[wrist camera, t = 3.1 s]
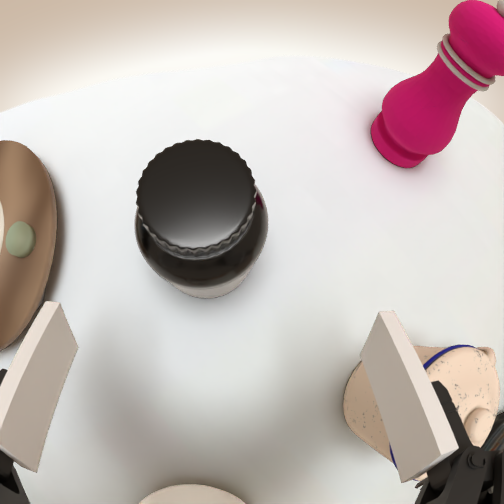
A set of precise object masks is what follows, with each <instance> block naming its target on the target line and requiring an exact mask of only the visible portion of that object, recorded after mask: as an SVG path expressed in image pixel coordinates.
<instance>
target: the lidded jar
mask: <svg viewBox="0 0 504 504" xmlns="http://www.w3.org/2000/svg"><path fill="white" fill-rule="evenodd" d="M138 504H246V503H245V502H243V501H242V500H241V499H239V498H238V497H236V496H234V495H233V494H231V493H228V492H226V491H224V490H221V489H218V488H214V487H211V486H205V485H197V484H181V485H173V486H169V487H165V488H163V489H160V490H158V491H155V492H153V493H152V494H150V495H148V496H147V497H145V498H144V499H143V500H142V501H141V502H139V503H138Z"/></svg>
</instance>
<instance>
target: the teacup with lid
mask: <svg viewBox="0 0 504 504" xmlns="http://www.w3.org/2000/svg"><path fill="white" fill-rule="evenodd" d="M413 347H414V349H415V351H416V353H417V355H418V357H419V359H420V361H421V363H422V365H423V367H424V369H425V371H426V373H427V375H428V378H429V380H430V382H433V381H438V380H439V381H440V382H441V383H442V384H443V385H444V386H445V388H446V389H447V390H448V392H449V394H450V396H451V398H452V402H453V403H454V405H455V407H456V411H458V414H459V416H460V418H461V420H462V423H463V425H464V427H465V430H466V432H467V434H468V437H469V439H470V441H471V443H472V444H473V445H474V446H479V447H480V448H481V446H482V445H483V443H484V442H485V440H486V438H487V437H488V435H489V433H490V431H491V429H492V426H493V424H494V421H495V418H496V414H497V410H498V405H499V397H500V386H499V379H498V374H497V371H496V368H495V364H496V357H495V353H494V351H493V349H491V348H489V347H477V348H475V347H473V346H470V345H455V346H451V347H448V348H440V347H423V346H413ZM343 409H344V415H345V419H346V422H347V424H348V426H349V427H350V429H351V430H352V431H353V433H354V434H356V435H357V436H358V437H359V438H361V439H362V440H363V441H364V442H366V443H367V444H368V445H370V446H371V447H372V448H374V449H375V450H376V451H378V452H379V453H380V454H382V455H383V456H384V457H386V458H387V459H388V460H390V461H391V462H392V463H394V465H395V467H396V468H397V465H396V462H395V459H394V455H393V452H392V449H391V445H390V442H389V439H388V436H387V433H386V429H385V426H384V423H383V420H382V417H381V414H380V411H379V408H378V405H377V402H376V399H375V396H374V393H373V390H372V387H371V384H370V382H369V379H368V376H367V373H366V370H365V368H364V365H363V362H361V363H360V364H359V365H358V366H357V368H356V369H355V370H354V372H353V373H352V375H351V377H350V379H349V381H348V384H347V386H346V390H345V394H344V402H343ZM397 470H398V469H397ZM426 477H428V476H427V473H424V474H423V475H421V476H420V477H418V478H416V479H413V480H415V481H422V480H423V479H425V478H426Z"/></svg>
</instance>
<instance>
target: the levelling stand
mask: <svg viewBox="0 0 504 504" xmlns="http://www.w3.org/2000/svg"><path fill="white" fill-rule="evenodd" d="M56 231H57V209H56V199H55V194H54V188H53V185H52V182H51V179H50V176H49V174H48V172H47V170H46V168H45V166H44V165H43V163H42V162H41V161H40V159H39V158H38V157H37V156H36V155H35V154H34V153H33V152H32V151H31V150H30V149H29V148H27V147H26V146H24V145H22V144H21V143H18V142H14V141H5V140H4V141H0V351H1V350H3V349H5V348H6V347H7V346H9V345H10V344H11V343H12V342H14V341H15V339H16V338H17V337H18V336H19V335H20V334H21V333H22V332H23V330H24V329H25V327H26V326H27V325H28V323H29V322H30V320H31V318H32V316H33V314H34V313H35V311H36V310H37V309H38V308H39V307H40V305H41V304H42V301H43V298H44V293H45V286H46V284H47V281H48V277H49V273H50V269H51V265H52V261H53V255H54V249H55V242H56Z"/></svg>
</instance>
